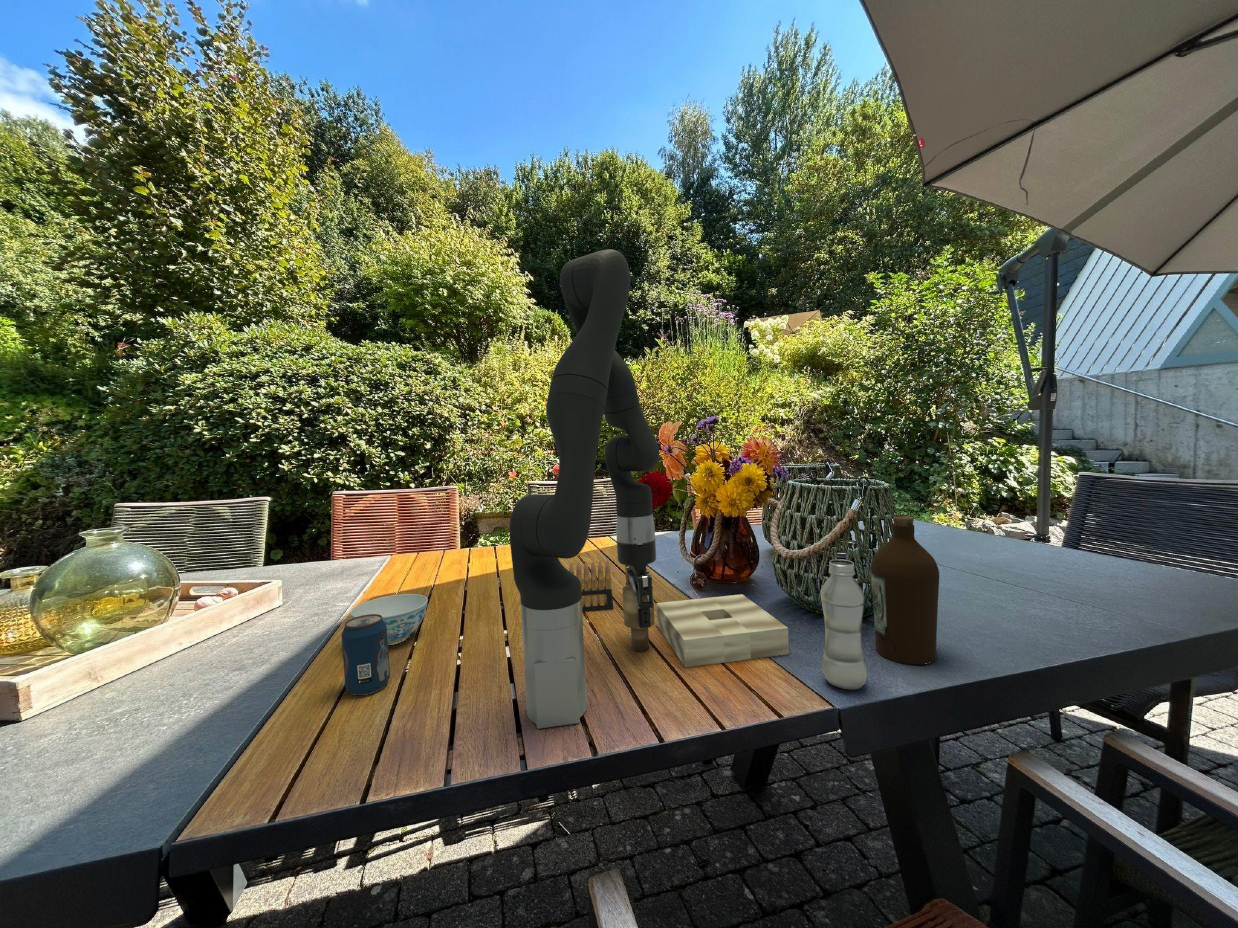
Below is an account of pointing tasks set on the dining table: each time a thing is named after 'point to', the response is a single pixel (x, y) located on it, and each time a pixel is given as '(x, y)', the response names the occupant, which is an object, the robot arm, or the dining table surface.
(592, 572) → the ammunition clip
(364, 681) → the soda can
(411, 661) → the dining table surface
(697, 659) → the board
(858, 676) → the plastic bottle
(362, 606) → the chinaware
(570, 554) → the robot arm
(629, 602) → the peg
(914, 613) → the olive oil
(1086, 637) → the dining table surface
